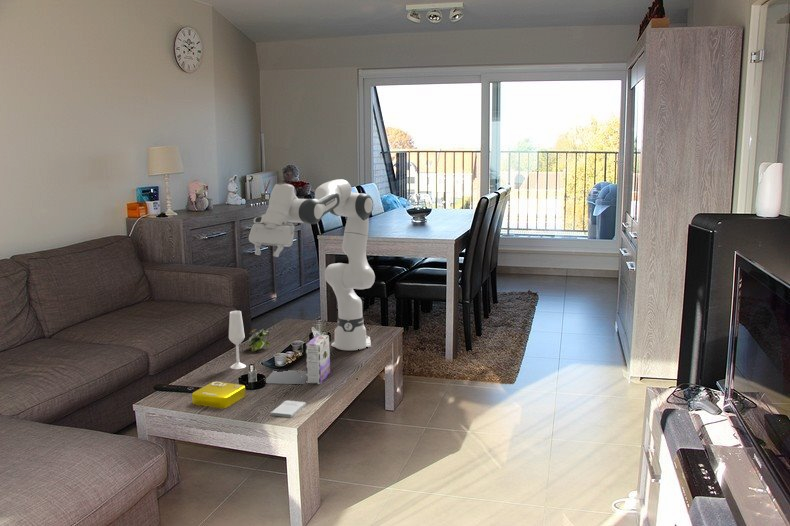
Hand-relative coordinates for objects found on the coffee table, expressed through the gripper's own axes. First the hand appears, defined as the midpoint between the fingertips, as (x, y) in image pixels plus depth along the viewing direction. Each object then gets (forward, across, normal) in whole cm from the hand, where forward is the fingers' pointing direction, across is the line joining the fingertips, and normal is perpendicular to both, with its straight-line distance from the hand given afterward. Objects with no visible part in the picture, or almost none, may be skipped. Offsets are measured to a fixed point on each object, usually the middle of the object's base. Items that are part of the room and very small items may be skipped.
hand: (266, 255), depth 270 cm
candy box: (+41, -14, -33) cm, 55 cm away
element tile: (+57, +4, 0) cm, 58 cm away
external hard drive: (+55, -25, -5) cm, 61 cm away
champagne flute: (+43, +26, -28) cm, 58 cm away
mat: (+43, -2, -28) cm, 52 cm away
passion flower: (+33, +36, -50) cm, 70 cm away
